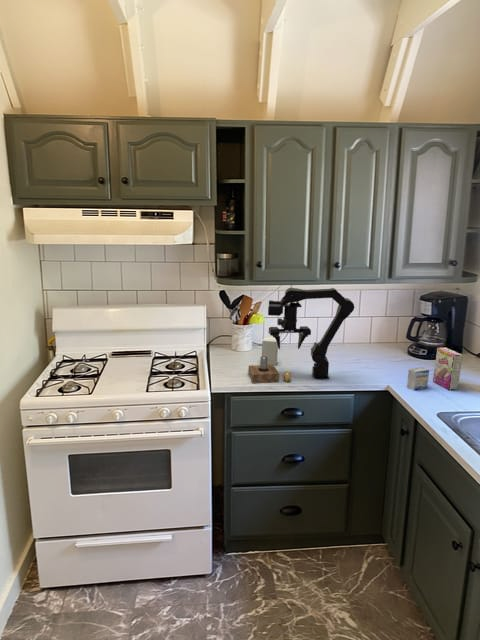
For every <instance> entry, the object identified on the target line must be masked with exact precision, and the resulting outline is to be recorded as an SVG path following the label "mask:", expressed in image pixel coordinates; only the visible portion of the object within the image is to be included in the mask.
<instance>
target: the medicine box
mask: <svg viewBox="0 0 480 640" xmlns="http://www.w3.org/2000/svg"><path fill="white" fill-rule="evenodd" d="M429 375H430V370H429V369H428V368H425V367H423V366H422V367H415V368H409V369H408V373H407V382H406V388H408V387H409V388H408V389H410V388H411V390H412V389H413V390H412V391H416V390H415V389H419V390H422V389H421V388H424V389H427V388H428V385H429Z"/></svg>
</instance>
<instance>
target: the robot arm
mask: <svg viewBox="0 0 480 640" xmlns="http://www.w3.org/2000/svg"><path fill="white" fill-rule="evenodd" d="M312 299H313V300H315V299H332V300H334V301H335V302H336V303H337V305H338V306H337V309H336V312H335V315H334V317H333V319H332V320H331V322H330V324H329V326H328V327H327V329H326V331H325V332H324V334H323V335H322V338H321V339H320V341H319V342H316V341H315V342H313V346H312V347H311V348H310V356H311V358H312V361H313V362H314V363H313V366H312V369H311V370H312V372H311V375H312V376H313V378H314V379H315V380H324V379H325V380H326V379H327V380H329V379H330V377H329V369H330V368H329V366H330V362H329V359H328V357H327V356H326V355H327V352H328V348H329V345H331V342H332V340H333V339H334V337H335V336H336V334H337V332H338V330H339V329H340V327H341V325H342V324H343V322H344V320H346V319H347V318H348V317H349V316H350V315H351V314H352V313H353V312H354V309H355V304H354V302H353V301H352V300H351V299H350V298H347V297H344V296H343V295H342V294H341V293H340V292H339V291H338V290H337V289H336V288H334V287H331V288H323V289H321V288H317V289H301V288H296V287H288V288H287V289H286V290H285V292H284V296H283V297H281V299H280V300H268V307H267V316H272V317H273V316H275V317H277V316H278V317H279V318H277V319H276V320H277V321H276V323H277V326H270V327H268V334H269V335H270V336H271V337H272V338H275V339H276V342H277V345H278V350H280V349H281V336H280V334H298V341H297V349H298V350H299V349H301V346H302V344H303V342H304V341H305V340H306V338H308V337H309V336H311V335H312V329H311V328H309V326H307V325H305V326H303V325H302V326H299V328H297V323H298V319H297V318H298V317H297V316H298V308H302V304H301V303H300V302H302V301H303V300H312ZM281 315H283V319H282V317H281V318H280V316H281ZM278 326H281V328H279V327H278Z"/></svg>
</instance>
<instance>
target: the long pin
mask: <svg viewBox="0 0 480 640" xmlns="http://www.w3.org/2000/svg"><path fill="white" fill-rule="evenodd" d="M267 359H268V357H267V356H262V355H261V356H260V371H267Z"/></svg>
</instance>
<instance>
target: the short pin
mask: <svg viewBox="0 0 480 640" xmlns="http://www.w3.org/2000/svg"><path fill="white" fill-rule="evenodd" d="M291 378H292V372H291V371H284V372H283V382H284V383H291V382H292V381H291Z"/></svg>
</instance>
